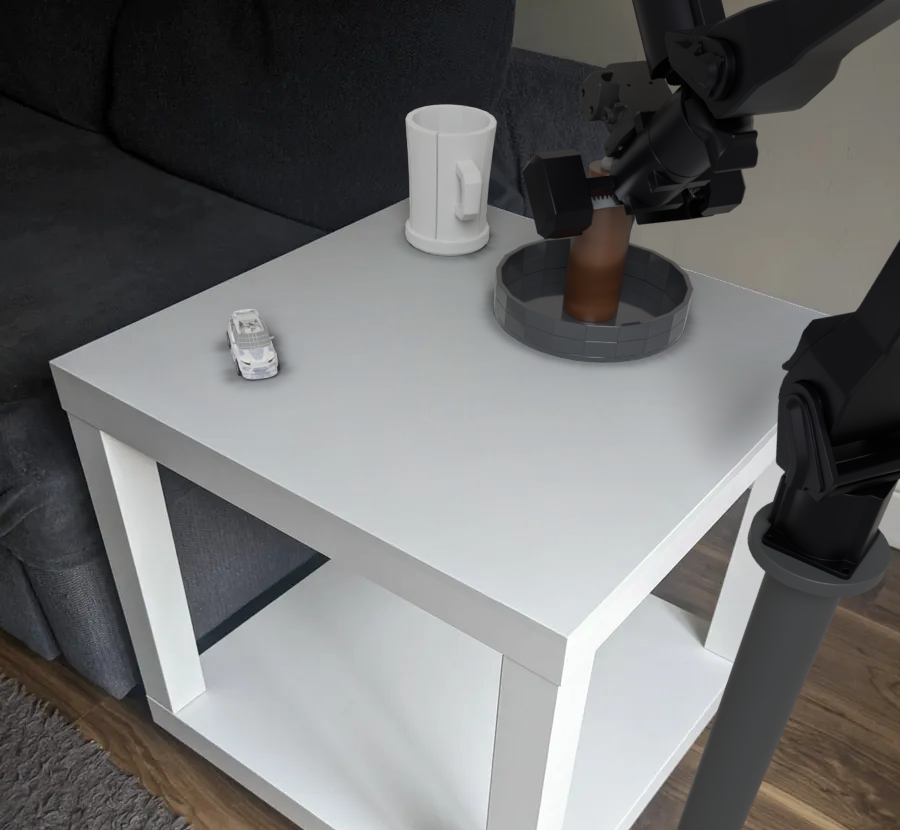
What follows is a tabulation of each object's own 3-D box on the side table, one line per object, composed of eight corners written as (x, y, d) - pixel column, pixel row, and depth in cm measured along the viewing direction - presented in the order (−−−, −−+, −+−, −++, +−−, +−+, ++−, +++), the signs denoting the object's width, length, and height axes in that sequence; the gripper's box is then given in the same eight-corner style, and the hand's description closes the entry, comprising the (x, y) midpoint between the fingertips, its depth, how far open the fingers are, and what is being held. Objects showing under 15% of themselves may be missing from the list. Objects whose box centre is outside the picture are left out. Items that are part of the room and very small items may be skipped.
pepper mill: (621, 322, 91) (647, 167, 81) (565, 321, 91) (585, 165, 81) (613, 296, 95) (637, 144, 85) (559, 295, 95) (577, 143, 85)
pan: (717, 308, 95) (725, 273, 93) (625, 385, 84) (631, 348, 82) (558, 253, 102) (562, 220, 100) (455, 318, 92) (457, 282, 89)
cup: (518, 241, 104) (528, 121, 96) (469, 271, 99) (475, 147, 90) (438, 214, 108) (441, 97, 100) (386, 242, 103) (385, 120, 95)
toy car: (240, 385, 82) (236, 353, 80) (225, 338, 88) (221, 307, 86) (284, 379, 83) (281, 347, 81) (266, 333, 88) (263, 302, 86)
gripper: (761, 25, 77) (661, 127, 91) (545, 43, 71) (476, 148, 86) (794, 166, 77) (689, 245, 92) (582, 194, 71) (507, 273, 86)
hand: (593, 225), depth 89 cm, fingers open, 9 cm apart
